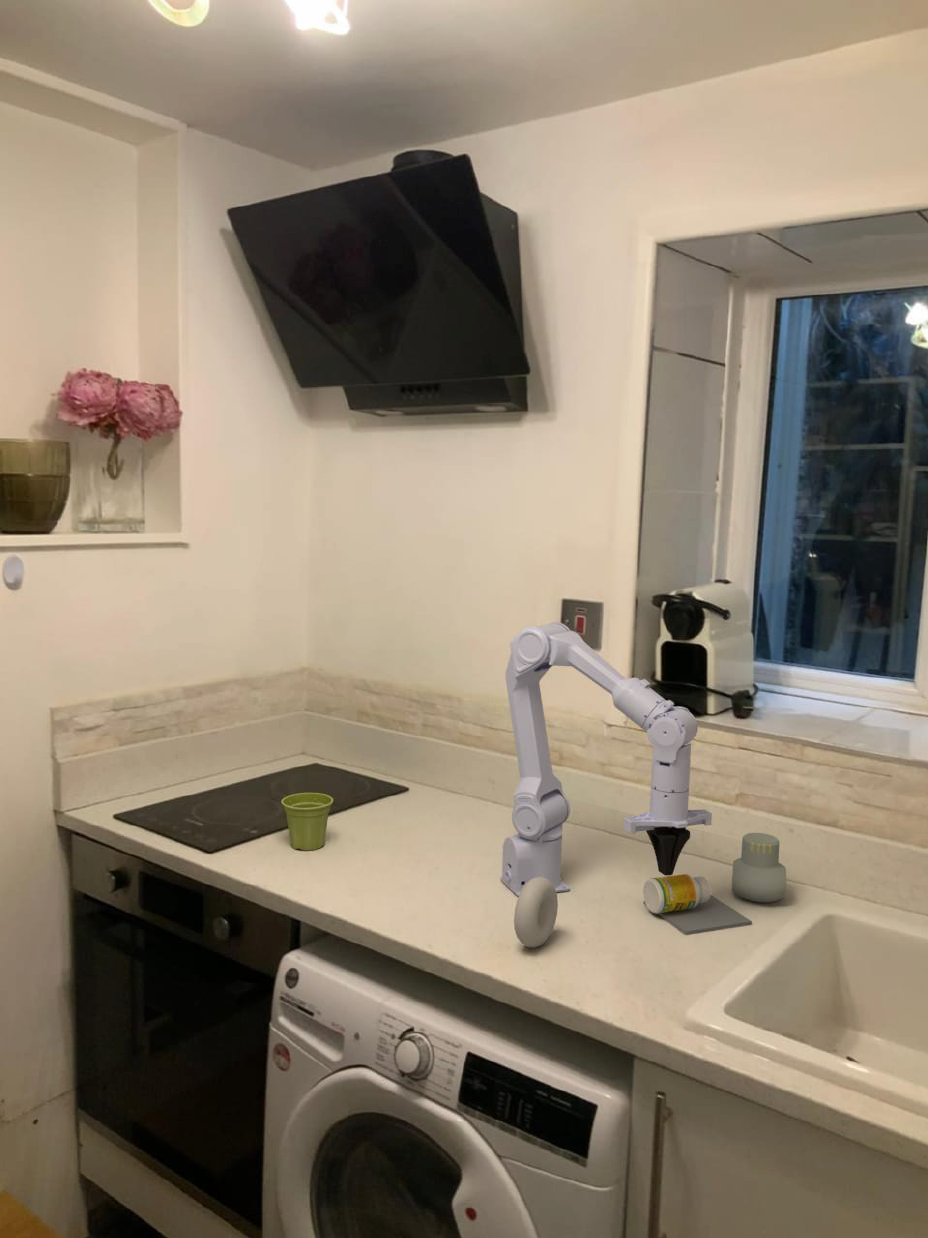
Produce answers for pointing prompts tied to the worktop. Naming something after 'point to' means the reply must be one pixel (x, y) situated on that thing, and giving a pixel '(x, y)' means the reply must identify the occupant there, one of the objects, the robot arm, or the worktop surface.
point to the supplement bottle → (675, 893)
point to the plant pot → (307, 819)
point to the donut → (535, 912)
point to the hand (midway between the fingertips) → (665, 873)
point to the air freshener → (759, 869)
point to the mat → (705, 917)
